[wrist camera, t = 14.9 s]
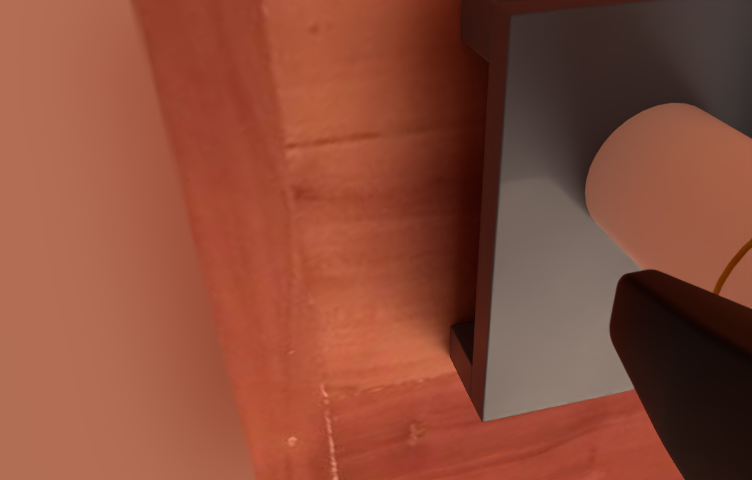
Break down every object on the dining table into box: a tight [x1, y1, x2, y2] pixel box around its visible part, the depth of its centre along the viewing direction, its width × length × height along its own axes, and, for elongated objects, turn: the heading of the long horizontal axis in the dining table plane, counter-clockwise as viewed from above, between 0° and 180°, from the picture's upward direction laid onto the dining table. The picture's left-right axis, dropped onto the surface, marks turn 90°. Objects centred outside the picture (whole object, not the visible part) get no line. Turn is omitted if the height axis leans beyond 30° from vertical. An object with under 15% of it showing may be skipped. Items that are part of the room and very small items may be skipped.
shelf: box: [450, 0, 752, 422], centre depth 21 cm, size 10×14×6 cm
